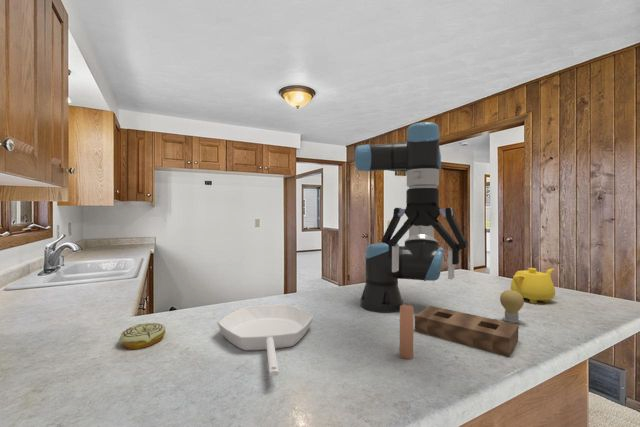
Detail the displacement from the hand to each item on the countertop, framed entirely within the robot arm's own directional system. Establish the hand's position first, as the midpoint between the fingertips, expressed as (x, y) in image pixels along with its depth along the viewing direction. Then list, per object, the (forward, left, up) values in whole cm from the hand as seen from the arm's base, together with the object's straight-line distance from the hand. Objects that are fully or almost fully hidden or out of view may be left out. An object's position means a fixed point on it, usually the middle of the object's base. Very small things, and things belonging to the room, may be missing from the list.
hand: (421, 274), depth 75 cm
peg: (-2, -3, -20) cm, 20 cm away
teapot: (+15, +74, -20) cm, 78 cm away
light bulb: (+13, +40, -20) cm, 46 cm away
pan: (-32, -22, -20) cm, 43 cm away
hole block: (+5, +19, -20) cm, 27 cm away
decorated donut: (-59, -42, -20) cm, 76 cm away
